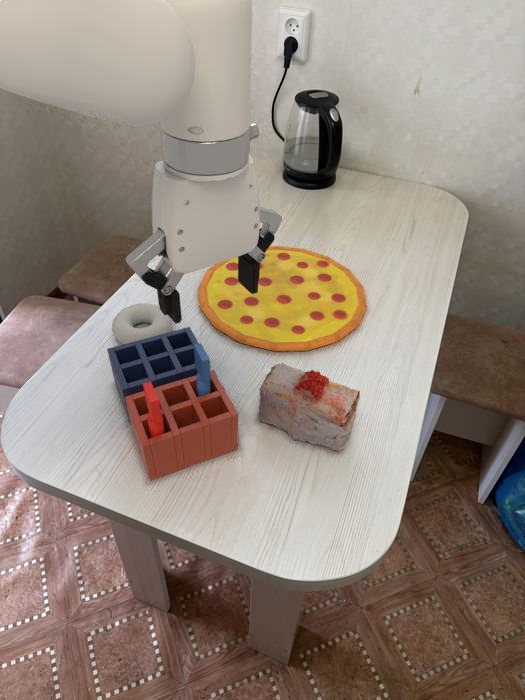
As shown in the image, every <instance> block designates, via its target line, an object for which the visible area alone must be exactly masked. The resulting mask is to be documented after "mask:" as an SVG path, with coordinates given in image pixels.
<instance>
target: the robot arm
mask: <svg viewBox="0 0 525 700" xmlns="http://www.w3.org/2000/svg"><path fill="white" fill-rule="evenodd" d="M252 26H253V0H0V89H2V90H4V91H7V92H10V93H12V94H15V95H18V96H21V97H24V98H27V99H29V100H33V101H36V102H40V103H42V104H46V105H48V106H52V107H56V108H57V109H58V108H59V109H62V110H65V111H69V112H73V113H75V114H79V115H83V116H86V117H90V118H92V119H96V120H99V121H103V122H107V123H110V124H114V125H119V126H123V127H131V128H133V127H135V128H137V127H140V128H141V127H149V126H153V125H157V124H159V125H160V136H161V145H162V157H163V158H162V160H159V161H157V162H156V163H155V164H154V165H155V166H154V169H153V170H154V171H153V179H152V180H153V181H152V190H151V191H152V192H151V225H152V234H151V235H150V236H149V237H148V238H147V239H146V240H144V241H143V242H141V244H139V245H138V246H137V247H136V248H134V250H132V251H131V252H130V253H129V254H128V255H126V257H125V263H126V264H127V265H128V266H129V267H130V269H132V271H133V272H134V273H135V274H136V275H137V276H138V278H139V279H141V281H143V283H144V284H145V285H147V286H149V287H150V288H153V289H155V290H156V292H157V293H156V294H157V301H158V307H160V310H161V312H162V313H163V314H164V315H168V316H169V317H170V319H171V321H172V322H173V323H174V324H175V325H178V324H180V323H181V322H182V320H183V317H182V309H181V307H182V305H181V295H180V292H179V291H178V290H177V289H176V288H177V286H178V285H179V283H180V282H181V280H182V278H183V277H184V275H186V274H190V273H193V272H197V271H201V270H203V269H206V268H210V267H212V266H214V265H215V264H218V263H221V262H224V261H227V260H230V259H233V258H235V257H238V281H239V283H240V284H241V285H242V286H243V287H245V288H246V289H247V290H248V291H249V292H250V293H251V294H255V293H257V292H258V281H259V275H260V262H262V261H263V260H264V259H265V256H266V255H265V252H266V250H267V249H268V248H269V246H272V244H273V243H274V241H275V237H276V236H275V234H276V233H277V232H278V230H279V227H280V225H281V223H282V221H283V216H282V215H281V214H279V213H278V212H276V211H275V210H272V209H268V208H266V207H262V206H260V191H259V184H258V177H257V172H256V166H255V162H254V158H253V157H252V156H251V155H250V150H251V148H250V147H251V144H250V143H251V142H252V141H253V140H255V139H259V136H260V129H259V126H258V124H256V123H255V122H253V123H250V117H251V116H250V114H251V79H252V78H251V75H252V74H251V72H252V37H253V36H252V34H253V33H252V32H253V31H252V30H253V29H252V28H253V27H252ZM261 223H262V225H261ZM157 256H158V257H161V258H160V260H159V261H158V263H157V265H156V266H155V268H154V269H152V268H151V267H149V263H150V262H151V261H153V260H154V259H155V258H156V257H157Z"/></svg>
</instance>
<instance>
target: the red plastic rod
mask: <svg viewBox="0 0 525 700" xmlns="http://www.w3.org/2000/svg"><path fill="white" fill-rule="evenodd" d="M143 388H144V394H145V399H146V405H147V407H148V410H149V412H148V415H147V419H148V424H149V430H150V435H151V438H153V437H156V436H159V435H162V434H165V431H164V424H163V418H162V413H161V411H160V405H159V399H158V397H157V395H156V392H155V390H154V388H153V385H152V383H151V381H150V382H147V383H143Z"/></svg>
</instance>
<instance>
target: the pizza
mask: <svg viewBox="0 0 525 700" xmlns="http://www.w3.org/2000/svg"><path fill="white" fill-rule="evenodd" d="M265 255H266V256H265V259H264V260H263V261H262V262H260V275H259V281H258V292H257V293H255V294H251V293H250V292H249V291H248V290H247V289H246V288H245V287H243V286H242V285H241V284H240V283H239V281H238V257H235V258H233V259H230V260H227V261H224V262H221V263H218V264H215V265H212V266H210V267H209V268H208V269H207V270H206V273H205V274H204V276H203V278H202V280H201V282H200V283H199V285H198V287H197V291H198V302H199V309H200V310H201V311H202V312H203V314H204V315H205V317H207V319H208V320H209V322H210V323H211V325H212V326H213V327H214V329H216V330H218V331H219V332H221V333H223V334H225V335H226V336H228V337H230V338H232V339H233V340H235V341H237V343H240V344H244V345H248V346H251V347H255V348H259V349H263V350H267V351H271V352H297V351H298V352H300V351H302V352H303V351H304V352H305V351H307V352H308V351H311V350H314V349H317V348H321V347H325V346H328V345H331V344H334V343H338V342H339V341H340V340H342V339H343V338H344V337H345V336H347V335H348V334H350V333H351V332H352V331H353V330H356V328H358V327H359V325H360V324H361V321H362V319H363V316H364V314H365V312H366V310H367V307H368V306H367V300H366V294H365V290H364V286H363V285H362V284H361V282H360V281H359V280H358V279H357V277H356V276H355V275H354V273H353V272H352V271H351V270H350V269H349V268H348V267H345V266H344V265H343V264H341V263H340V262H338V261H337V260H335V259H333V258H331V257H330V256H328V255H324V254H321V253H318V252H315V251H311V250H309V249H305V248H300V247H291V246H283V245H282V246H280V245H270V246H269V248H268V249H267V250H266V252H265Z"/></svg>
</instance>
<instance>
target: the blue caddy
mask: <svg viewBox="0 0 525 700" xmlns="http://www.w3.org/2000/svg"><path fill="white" fill-rule="evenodd" d="M197 344H200V343H199V341H198V339H197V337H196V335H195V334H194V332H193V330H192V328H191V327H190V326H187V327H184V328H179V329H176V330H171V331H170V332H168V333H164V334H160V335H157V336H153V337H149V338H145V339H142V340H138V341H135V342H130V343H127V344H120V345H119V344H118V345H115V346H113V347H109V348H107V355H108V358H109V363H110V368H111V373H112V376H113V380H114V384H115V388H116V390H117V394H118V395H119V399H120V402H121V404H122V407H123V410H124V412H125V415H126V419H127V421H128V424H129V426H130V427H131V423H130V419H129V414H128V410H127V405H126V401H125V397H126V396H129V395H132V394H136V393H139V392H142V391H144V388H143V383H147V382H150V381H151V383H152V385H153V388H156V387H159V386H162V385H165V384H169V383H172V382H175V381H179V380H182V379H185V378H187V379H188V378H189V377H192V376H196V375H197V373H198V371H197V369H196V367H195V355H194V345H197Z"/></svg>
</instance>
